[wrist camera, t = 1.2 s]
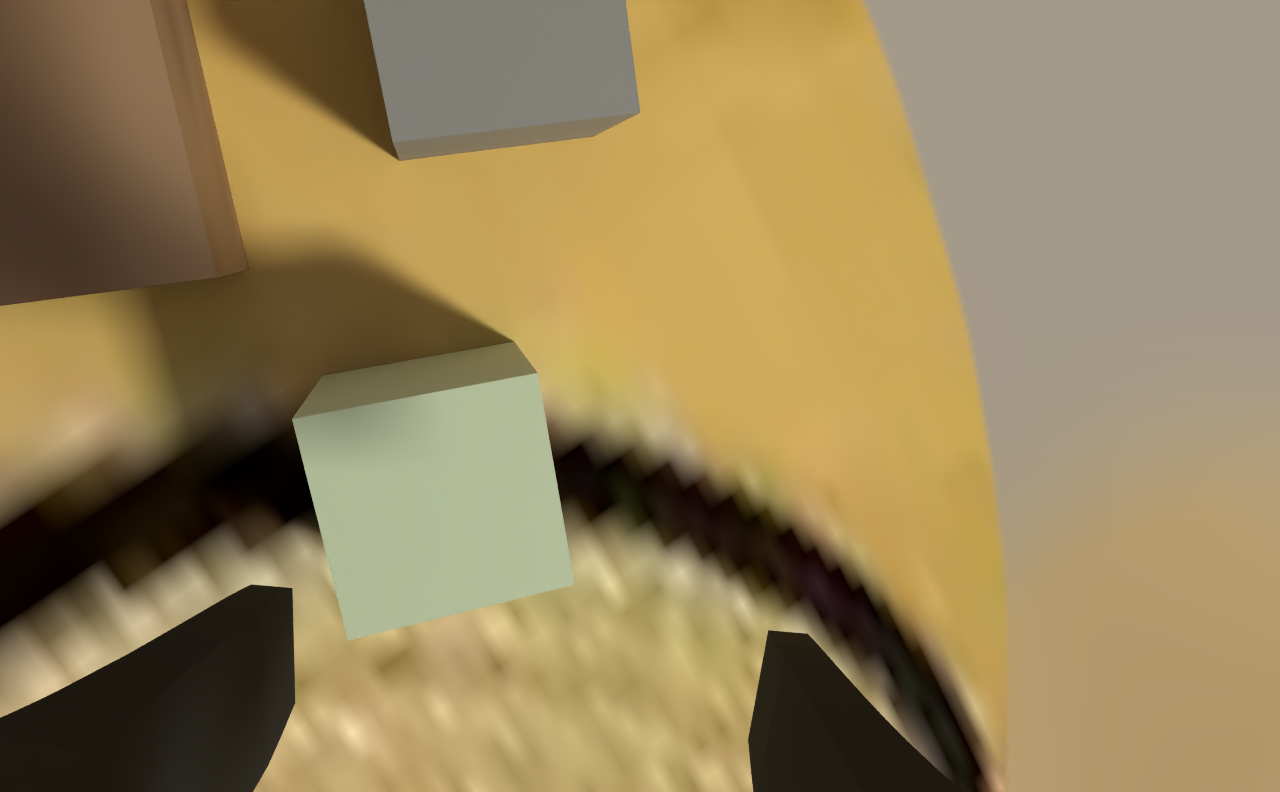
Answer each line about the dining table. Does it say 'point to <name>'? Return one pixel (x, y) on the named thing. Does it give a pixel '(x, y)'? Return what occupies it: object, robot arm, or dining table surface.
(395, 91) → the grey cube
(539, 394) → the sage cube
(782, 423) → the dining table surface
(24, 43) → the walnut block
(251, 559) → the dining table surface
